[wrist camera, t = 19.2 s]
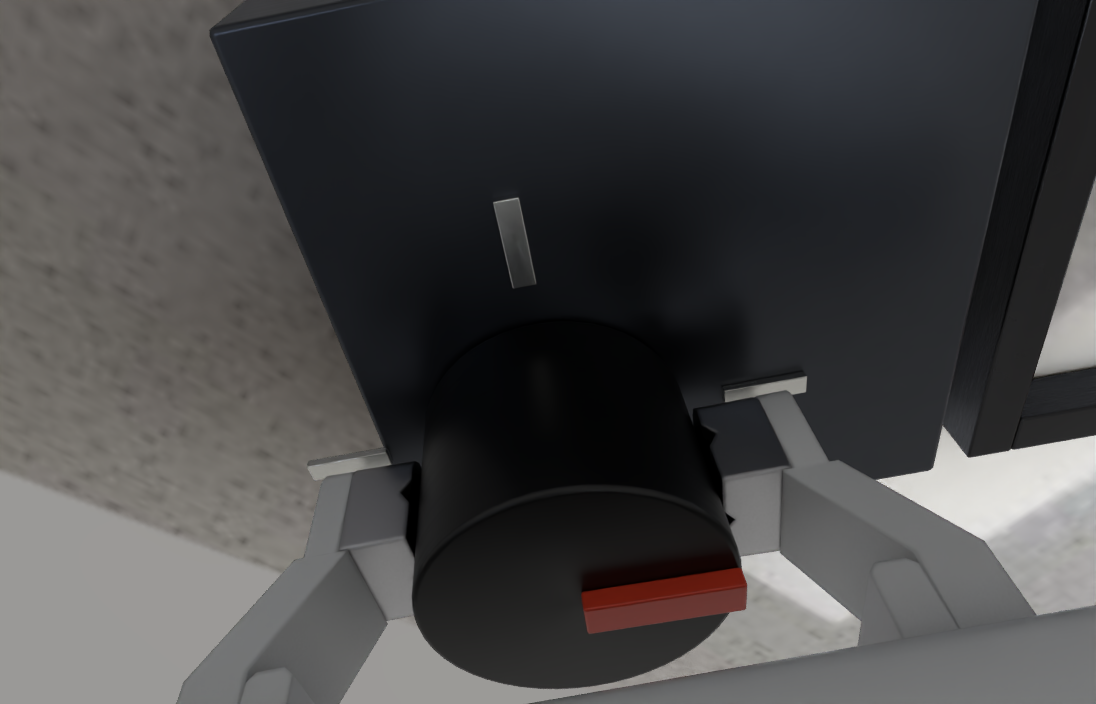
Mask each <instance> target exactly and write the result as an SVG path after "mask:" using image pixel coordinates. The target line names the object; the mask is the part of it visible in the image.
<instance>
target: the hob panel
mask: <svg viewBox="0 0 1096 704" xmlns="http://www.w3.org/2000/svg"><path fill="white" fill-rule="evenodd" d="M1038 1H1039V0H246V1H244V2H243V3H242V4H241V5H240V6H238V7H237V8H236V9H235V10H233V11H232V12H231V13H230V14H228V15H227V16H226V17H225V18H223V19H222V20H221V21H220V22H219V23H217V24H216V25H215V26H214V27H212V28H211V29H210V38H211V40H212V43H213V45H214V48H215V50H216V52H217V55H218V57H219V59H220V62H221V64H222V66H223V69H224V71H225V74H226V76H227V78H228V81H229V83H230V85H231V88H232V90H233V92H234V95H235V97H236V99H237V102H238V104H239V107H240V109H241V111H242V114H243V116H244V118H245V121H246V123H247V125H248V128H249V130H250V132H251V135H252V137H253V140H254V142H255V144H256V147H257V149H258V151H259V154H260V156H261V158H262V161H263V163H264V166H265V168H266V170H267V173H268V175H269V177H270V180H271V182H272V184H273V187H274V189H275V191H276V194H277V196H278V199H279V201H280V203H281V206H282V208H283V210H284V213H285V215H286V217H287V220H288V222H289V224H290V227H291V229H292V232H293V234H294V236H295V239H296V241H297V243H298V246H299V248H300V250H301V253H302V255H303V258H304V260H305V262H306V265H307V267H308V269H309V272H310V274H311V276H312V279H313V281H314V283H315V286H316V288H317V291H318V293H319V295H320V298H321V300H322V302H323V305H324V307H325V309H326V312H327V314H328V316H329V319H330V321H331V324H332V326H333V328H334V331H335V333H336V335H337V338H338V340H339V342H340V345H341V347H342V350H343V352H344V354H345V357H346V359H347V361H348V364H349V366H350V368H351V371H352V373H353V375H354V378H355V380H356V383H357V385H358V387H359V390H360V392H361V394H362V397H363V399H364V401H365V404H366V406H367V408H368V411H369V413H370V416H371V418H372V420H373V423H374V425H375V427H376V430H377V432H378V434H379V437H380V439H381V442H382V444H383V446H384V447H382V448H377V449H371V450H366V451H360V452H355V453H349V454H344V455H338V456H333V457H327V458H322V459H316V460H311V461H308V464H307V468H308V470H309V472H310V474H311V476H312V478H313V480H314V481H316V480H322V479H325V477H326V476H330V475H337V474H343V473H350V472H356V471H357V470H363V469H369V468H376V467H382V466H388V465H394V464H400V463H406V462H412V461H416V462H418V463H419V464H420V466H421V468H422V457H423V444H424V431H425V421H426V413H427V409H428V405H429V402H430V399H431V397H432V395H433V393H434V391H435V389H436V386H437V385H438V383H439V382H440V381H441V379H442V378H443V376H444V375H445V373H446V372H447V371H448V370H449V369H450V368H451V367H452V366H453V365H454V364H455V363H456V362H457V361H458V360H459V359H460V358H461V357H462V356H464V355H465V354H466V353H467V352H469V351H470V350H471V349H473V348H474V347H476V346H478V345H479V344H481V343H482V342H484V341H486V340H488V339H490V338H492V337H494V336H497V335H499V334H501V333H503V332H506V331H509V330H512V329H515V328H518V327H523V326H527V325H532V324H536V323H545V322H555V321H574V322H583V323H592V324H596V325H600V326H605V327H609V328H612V329H614V330H617V331H620V332H623V333H625V334H627V335H629V336H631V337H633V338H635V339H637V340H639V341H640V342H642V343H643V344H644V345H646V346H647V347H649V348H650V349H651V350H653V351H654V352H655V353H656V354H657V355H658V356H659V357H660V358H661V359H662V360H663V361H664V362H665V363H666V365H667V366H668V367H669V369H670V370H671V371H672V373H673V375H674V377H675V379H676V381H677V383H678V385H679V387H680V390H681V393H682V396H683V398H684V401H685V404H686V407H687V409H688V412H689V415H690V418H691V420H692V423H693V416H692V415H693V409H694V408H699V407H704V406H709V405H714V404H719V403H724V402H730V401H735V400H740V399H745V398H750V397H754V398H755V396H759V395H764V394H769V393H773V392H778V391H783V390H787V391H788V392H790V393H791V394H792V396H793V398H794V399H795V401H796V403H797V405H798V407H799V408H800V410H801V412H802V414H803V416H804V417H805V419H806V421H807V423H808V424H809V426H810V428H811V430H812V432H813V433H814V435H815V437H816V439H817V441H818V442H819V444H820V446H821V448H822V449H823V451H824V453H825V455H826V457H827V458H828V460H829V462H830V461H836V460H840V461H842V462H843V463H845V464H847V465H849V466H851V467H852V468H854V469H856V470H858V471H859V472H861V473H863V474H865V475H867V476H868V477H870V478H872V479H874V480H878V479H883V478H889V477H895V476H900V475H906V474H912V473H918V472H923V471H929V470H931V469H932V468H933V465H934V461H935V457H936V452H937V448H938V443H939V439H940V434H941V430H942V426H943V421H944V417H945V412H946V408H947V403H948V399H949V395H950V390H951V386H952V381H953V377H954V373H955V368H956V364H957V359H958V355H959V350H960V346H961V342H962V337H963V333H964V328H965V324H966V319H967V315H968V311H969V306H970V302H971V297H972V293H973V288H974V284H975V280H976V275H977V271H978V266H979V262H980V258H981V253H982V249H983V244H984V240H985V235H986V231H987V227H988V222H989V218H990V213H991V209H992V204H993V200H994V196H995V191H996V187H997V182H998V178H999V173H1000V169H1001V165H1002V160H1003V156H1004V151H1005V147H1006V143H1007V138H1008V134H1009V129H1010V125H1011V120H1012V116H1013V112H1014V107H1015V103H1016V98H1017V94H1018V89H1019V85H1020V81H1021V76H1022V72H1023V67H1024V63H1025V59H1026V54H1027V50H1028V45H1029V41H1030V36H1031V32H1032V28H1033V23H1034V19H1035V14H1036V10H1037V5H1038Z"/></svg>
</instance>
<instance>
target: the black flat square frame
mask: <svg viewBox="0 0 1096 704" xmlns="http://www.w3.org/2000/svg"><path fill="white" fill-rule="evenodd" d="M1095 178H1096V0H1039V1H1038V5H1037V10H1036V14H1035V19H1034V23H1033V28H1032V32H1031V36H1030V41H1029V45H1028V50H1027V54H1026V59H1025V63H1024V67H1023V72H1022V76H1021V81H1020V85H1019V89H1018V94H1017V98H1016V103H1015V107H1014V112H1013V116H1012V120H1011V125H1010V129H1009V134H1008V138H1007V143H1006V147H1005V151H1004V156H1003V160H1002V165H1001V169H1000V173H999V178H998V182H997V187H996V191H995V196H994V200H993V204H992V209H991V213H990V218H989V222H988V227H987V231H986V235H985V240H984V244H983V249H982V253H981V258H980V262H979V266H978V271H977V275H976V280H975V284H974V288H973V293H972V297H971V302H970V306H969V311H968V315H967V319H966V324H965V328H964V333H963V337H962V342H961V346H960V350H959V355H958V359H957V364H956V368H955V373H954V377H953V381H952V386H951V390H950V395H949V399H948V403H947V408H946V412H945V417H944V421H943V426H944V427H945V429H946V430H947V431H948V432H949V434H950V435H951V436H952V438H953V439H954V440H955V441H956V443H957V444H958V445H959V447H960V448H961V449H962V450H963V452H964V453H965V454H966V456H967V457H970V458H971V457H976V456H982V455H988V454H993V453H999V452H1005V451H1009V450H1010V449H1014V450H1015V449H1020V448H1026V447H1032V446H1037V445H1043V444H1049V443H1054V442H1060V441H1066V440H1071V439H1077V438H1083V437H1088V436H1094V435H1096V368H1092V369H1087V370H1081V371H1076V372H1070V373H1064V374H1059V375H1053V376H1048V377H1042V378H1037V379H1033V376H1034V373H1035V370H1036V367H1037V364H1038V360H1039V357H1040V354H1041V351H1042V348H1043V344H1044V341H1045V338H1046V335H1047V332H1048V328H1049V325H1050V322H1051V319H1052V316H1053V312H1054V309H1055V306H1056V303H1057V300H1058V296H1059V293H1060V290H1061V287H1062V284H1063V280H1064V277H1065V274H1066V271H1067V268H1068V264H1069V261H1070V258H1071V255H1072V252H1073V248H1074V245H1075V242H1076V239H1077V236H1078V232H1079V229H1080V226H1081V223H1082V220H1083V216H1084V213H1085V210H1086V207H1087V204H1088V200H1089V197H1090V194H1091V191H1092V188H1093V184H1094V181H1095Z"/></svg>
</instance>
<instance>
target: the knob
mask: <svg viewBox="0 0 1096 704" xmlns="http://www.w3.org/2000/svg"><path fill="white" fill-rule="evenodd" d="M746 600H747V583H746V580H745V577H744V574H743V571H742V566H741V557H740V554H739V551H738V547H737V544H736V542H735V539H734V536H733V533H732V531H731V528H730V525H729V522H728V520H727V517H726V514H725V511H724V509H723V506H722V503H721V500H720V498H719V495H718V492H717V489H716V487H715V484H714V481H713V478H712V476H711V473H710V470H709V467H708V465H707V462H706V459H705V456H704V454H703V451H702V448H701V445H700V442H699V440H698V437H697V434H696V431H695V429H694V426H693V423H692V420H691V418H690V415H689V412H688V409H687V407H686V404H685V401H684V398H683V396H682V393H681V390H680V387H679V385H678V383H677V381H676V379H675V377H674V375H673V373H672V371H671V370H670V369H669V367H668V366H667V365H666V363H665V362H664V361H663V360H662V359H661V358H660V357H659V356H658V355H657V354H656V353H655V352H654V351H653V350H651V349H650V348H649V347H647V346H646V345H644V344H643V343H642V342H640V341H639V340H637V339H635V338H633V337H631V336H629V335H627V334H625V333H623V332H620V331H617V330H614V329H612V328H609V327H605V326H600V325H596V324H592V323H583V322H574V321H555V322H545V323H536V324H532V325H527V326H523V327H518V328H515V329H512V330H509V331H506V332H503V333H501V334H499V335H497V336H494V337H492V338H490V339H488V340H486V341H484V342H482V343H481V344H479V345H478V346H476V347H474V348H473V349H471V350H470V351H469V352H467V353H466V354H465V355H464V356H462V357H461V358H460V359H459V360H458V361H457V362H456V363H455V364H454V365H453V366H452V367H451V368H450V369H449V370H448V371H447V372H446V373H445V375H444V376H443V378H442V379H441V381H440V382H439V383H438V385H437V386H436V389H435V391H434V393H433V395H432V397H431V399H430V402H429V405H428V409H427V413H426V421H425V431H424V444H423V457H422V470H421V483H420V496H419V508H418V521H417V534H416V547H415V560H414V573H413V586H412V608H413V613H414V616H415V620H416V623H417V625H418V628H419V629H420V631H421V633H422V635H423V637H424V638H425V640H426V641H427V642H428V643H429V644H430V646H431V647H432V648H433V649H434V650H435V651H436V652H437V653H438V654H440V655H441V656H442V657H443V658H444V659H446V660H447V661H449V662H450V663H452V664H453V665H455V666H456V667H458V668H460V669H463V670H465V671H466V672H469V673H471V674H473V675H476V676H479V677H482V678H484V679H487V680H491V681H495V682H498V683H503V684H507V685H513V686H518V687H527V688H538V689H568V688H581V687H590V686H597V685H602V684H608V683H613V682H617V681H621V680H624V679H628V678H632V677H635V676H638V675H641V674H644V673H647V672H650V671H652V670H654V669H657V668H659V667H661V666H664V665H666V664H668V663H670V662H672V661H673V660H675V659H677V658H679V657H681V656H683V655H684V654H686V653H687V652H689V651H690V650H692V649H694V648H695V647H696V646H698V645H699V644H700V643H701V642H703V641H704V640H705V639H706V638H708V637H709V636H710V635H711V634H712V633H713V632H714V631H715V630H716V629H717V628H718V627H719V626H720V624H721V623H722V622H723V621H724V619H725V618H726V617H727V615H728V614H729V612H734V611H741V610H745V609H746Z"/></svg>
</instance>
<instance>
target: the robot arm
mask: <svg viewBox="0 0 1096 704" xmlns="http://www.w3.org/2000/svg"><path fill="white" fill-rule="evenodd" d="M692 416H693V426H694V429H695V431H696V434H697V437H698V440H699V442H700V445H701V448H702V451H703V454H704V456H705V459H706V462H707V465H708V467H709V470H710V473H711V476H712V478H713V481H714V484H715V487H716V489H717V492H718V495H719V498H720V500H721V503H722V506H723V509H724V511H725V514H726V517H727V520H728V522H729V525H730V528H731V531H732V533H733V536H734V539H735V542H736V544H737V547H738V551H739V554H740V557H741V556H747V555H754V554H760V553H767V552H774V551H780V553H781V554H782V555H783V556H784V557H786V558H787V559H788V560H789V561H790V562H791V563H793V564H794V565H795V566H796V567H797V568H799V569H800V570H801V571H802V572H803V573H805V574H806V575H807V576H808V577H809V578H811V579H812V580H813V581H814V582H815V583H816V584H818V585H819V586H820V587H821V588H822V589H824V590H825V591H826V592H827V593H828V594H830V595H831V596H832V597H833V598H834V599H835V600H837V601H838V602H839V603H840V604H841V605H843V606H844V607H845V608H846V609H847V610H849V611H850V612H851V613H852V614H853V615H854V616H856V617H857V618H858V619H859V620H860V621H862V622H861V628H860V634H859V640H858V646H857V647H851V648H845V649H839V650H834V651H828V652H822V653H816V654H811V655H805V656H799V657H794V658H788V659H782V660H776V661H771V662H765V663H759V664H753V665H748V666H742V667H736V668H731V669H725V670H719V671H713V672H708V673H702V674H696V675H691V676H685V677H679V678H673V679H668V680H662V681H656V682H650V683H645V684H639V685H633V686H628V687H622V688H616V689H610V690H604V691H599V692H593V693H587V694H581V695H575V696H570V697H564V698H558V699H553V700H547V701H541V702H535V703H529V704H1096V605H1094V606H1088V607H1082V608H1076V609H1071V610H1065V611H1059V612H1053V613H1047V614H1042V615H1036V614H1035V612H1034V611H1033V609H1032V608H1031V606H1030V605H1029V604H1028V602H1027V601H1026V599H1025V598H1024V597H1023V595H1022V594H1021V592H1020V591H1019V589H1018V588H1017V587H1016V585H1015V584H1014V582H1013V581H1012V579H1011V578H1010V577H1009V575H1008V574H1007V572H1006V571H1005V570H1004V568H1003V567H1002V565H1001V564H1000V562H999V561H998V560H997V558H996V557H995V555H994V554H993V553H992V551H991V550H990V548H989V547H988V545H987V544H986V543H985V541H983V540H982V539H980V538H978V537H976V536H974V535H973V534H971V533H969V532H967V531H965V530H964V529H962V528H960V527H958V526H957V525H955V524H953V523H951V522H949V521H948V520H946V519H944V518H942V517H940V516H939V515H937V514H935V513H933V512H931V511H930V510H928V509H926V508H924V507H922V506H921V505H919V504H917V503H915V502H913V501H912V500H910V499H908V498H906V497H904V496H903V495H901V494H899V493H897V492H895V491H894V490H892V489H890V488H888V487H886V486H885V485H883V484H881V483H879V482H877V481H876V480H874V479H872V478H870V477H868V476H867V475H865V474H863V473H861V472H859V471H858V470H856V469H854V468H852V467H851V466H849V465H847V464H845V463H843V462H842V461H840V460H836V461H830V462H829V460H828V458H827V457H826V455H825V453H824V451H823V449H822V448H821V446H820V444H819V442H818V441H817V439H816V437H815V435H814V433H813V432H812V430H811V428H810V426H809V424H808V423H807V421H806V419H805V417H804V416H803V414H802V412H801V410H800V408H799V407H798V405H797V403H796V401H795V399H794V398H793V396H792V394H791V393H790V392H788V391H787V390H783V391H778V392H773V393H769V394H764V395H759V396H755V398H754V397H750V398H745V399H740V400H735V401H730V402H724V403H719V404H714V405H709V406H704V407H699V408H694V409H693V415H692ZM421 470H422V468H421V466H420V464H419V463H418V462H416V461H412V462H406V463H400V464H394V465H388V466H382V467H376V468H369V469H363V470H357V471H356V472H350V473H343V474H337V475H330V476H326V477H325V479H324V480H323V482H322V483H321V485H320V490H319V494H318V498H317V503H316V507H315V511H314V516H313V520H312V524H311V528H310V533H309V537H308V541H307V546H306V550H305V554H304V558H301V559H296V560H294V561H293V562H292V563H291V564H290V565H289V567H288V568H287V569H286V570H285V571H284V572H283V573H282V574H281V575H280V576H279V578H278V579H277V580H276V581H275V582H274V583H273V584H272V585H271V586H270V588H269V589H268V590H267V591H266V592H265V593H264V594H263V595H262V597H261V598H260V599H259V600H258V601H257V602H256V603H255V604H254V605H253V606H252V607H251V608H250V610H249V611H248V612H247V613H246V614H245V615H244V616H243V617H242V618H241V619H240V621H239V622H238V623H237V624H236V625H235V626H234V627H233V628H232V629H231V630H230V632H229V633H228V634H227V635H226V636H225V637H224V638H223V639H222V640H221V642H220V643H219V644H218V645H217V646H216V647H215V648H214V649H213V650H212V651H211V653H210V654H209V655H208V656H207V657H206V658H205V659H204V660H203V661H202V662H201V664H200V665H199V666H198V667H197V668H196V669H195V670H194V671H193V672H192V673H191V675H190V676H189V677H188V678H187V679H186V680H185V681H184V683H183V685H182V688H181V691H180V694H179V697H178V700H177V703H176V704H339V703H340V702H341V700H342V698H343V697H344V695H345V693H346V692H347V690H348V688H349V687H350V685H351V684H352V682H353V680H354V679H355V677H356V675H357V674H358V672H359V670H360V669H361V667H362V665H363V664H364V662H365V661H366V659H367V657H368V655H369V654H370V652H371V651H372V649H373V647H374V645H375V644H376V642H377V641H378V639H379V637H380V636H381V634H382V633H383V631H384V629H385V628H386V626H387V621H389V620H394V619H399V618H403V617H408V616H413V615H414V613H413V608H412V586H413V573H414V560H415V547H416V534H417V521H418V508H419V496H420V483H421Z"/></svg>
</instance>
